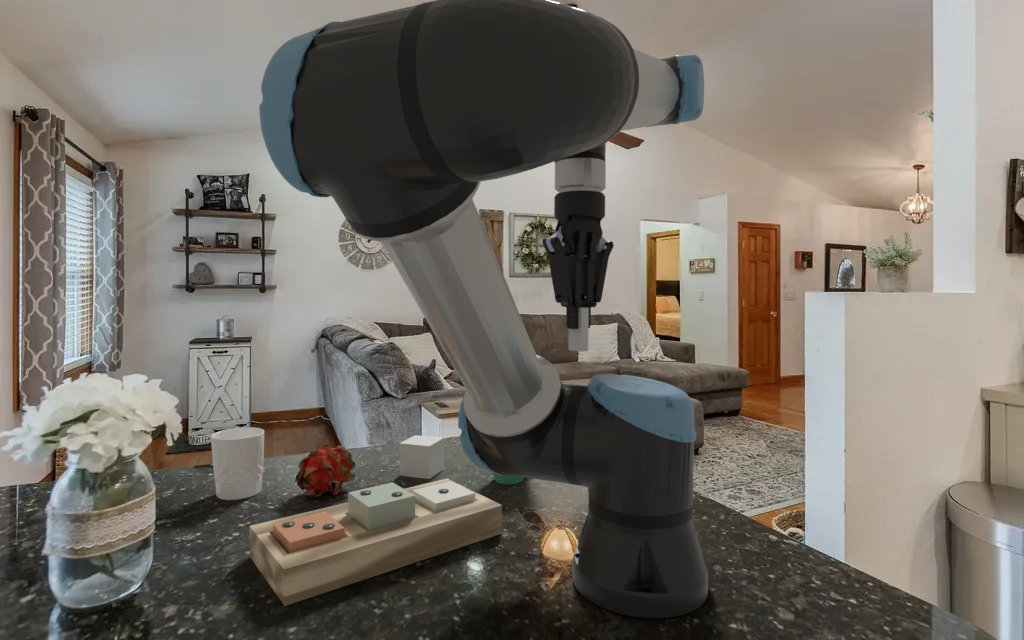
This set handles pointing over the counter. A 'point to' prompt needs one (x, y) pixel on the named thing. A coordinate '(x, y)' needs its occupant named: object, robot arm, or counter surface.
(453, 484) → the key one
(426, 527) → the key panel
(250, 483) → the white cup
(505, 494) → the counter surface
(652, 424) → the robot arm
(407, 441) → the white cube
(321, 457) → the dragon fruit
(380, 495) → the key two
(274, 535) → the key three
